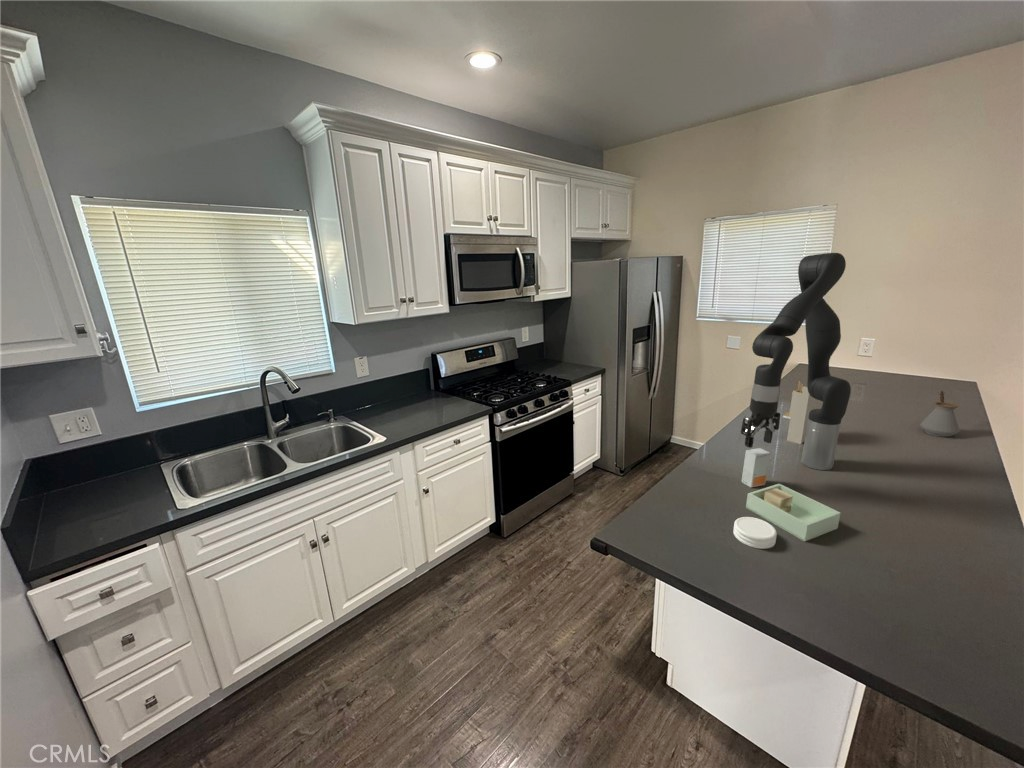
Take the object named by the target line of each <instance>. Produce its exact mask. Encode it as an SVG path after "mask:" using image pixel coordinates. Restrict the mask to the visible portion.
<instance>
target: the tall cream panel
mask: <svg viewBox="0 0 1024 768" xmlns="http://www.w3.org/2000/svg"><path fill="white" fill-rule="evenodd" d="M803 385H804V384H803V383H801V381H800V380H799V381H798V386H797V389H796V390H795V389H793V391H792V393H791V401H790V407H789V411H787V412H786V413H784V414H783V415H782V418H785V419H789V423H788V431H787V438H786V441H787V442H791V443H795V444H799V445H802V444H804V441H805V435H806V429H807V423H808V417H809V412H810V411H811V410H814V409H816V402H817V399H815V398H813V397H811V396H810V394H809V392H808V388H807V386H803Z"/></svg>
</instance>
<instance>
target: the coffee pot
mask: <svg viewBox="0 0 1024 768" xmlns="http://www.w3.org/2000/svg"><path fill="white" fill-rule="evenodd" d="M937 394H938V395H940V396H939V399H940V402H934V405H935V408H934V409H933V410H932V411H931V412H930V413H929V414H928V415H927V416H926V417H925V418H924V419H923V420H922V421H921V422H920V424H919V426H920V428H921V429H922V430H923V431H925V433H927V434H929V435H931V436H936V437H942V438H951V437H952V436H955V435H958V434H959V433H960V430H961V429H960V427H959V424H958V423H959V422H958V421H957V418H956V415H955V412H954V411H955V409H957V408H958V407H959V406H958V405H956V404H954V403H949V402H945V396H944V395H945V394H946V392H945V391H943V390H941V391H938V392H937Z"/></svg>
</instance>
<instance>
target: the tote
mask: <svg viewBox="0 0 1024 768" xmlns="http://www.w3.org/2000/svg"><path fill="white" fill-rule="evenodd" d="M776 488H777V489H779V490H781V491H783V492H785V493H787V494H789V495H791V496H793V499H792V505H791V511H790V512H785V511H783V510H781V509H779V508H777V507H775V506H774V505H772V504H770V503H768V502H766V501H764V495H765V492H766V491H770V490H773V489H776ZM745 509H747V510H749V511H750V512H752V513H754V514H756V515H757V516H759V517H761V518H763V520H766V521H768V523H771V524H773V525H775V526H777V527H778V528H780V529H781V530H784V531H786V532H787V533H789V534H790V535H792V536H794V537H795V538H797V539H799V540H800V541H803V542H807V541H810V540H812V539H815V538H817V537H820V536H822V535H825V534H827V533H830V532H832V531H835V530H837V529H838V528H839V523H840V519H841V514H842V513H841V512H840V511H838V510H836V509H834V508H832V507H830V506H827V505H826V504H824V503H821V502H819V501H817V500H815V499H813V498H811V497H808V496H806V495H804V494H802V493H800V492H798V491H796V490H793V489H791V488H790V487H787V486H786V485H783V484H781V483H777V484H773V485H770V486H767V487H763V488H760V489H758V490H755V491H751V492H749V493H747V495H746V504H745Z"/></svg>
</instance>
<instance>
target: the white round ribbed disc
mask: <svg viewBox="0 0 1024 768" xmlns="http://www.w3.org/2000/svg"><path fill="white" fill-rule="evenodd" d="M733 523H734V524H733V530H732V532H733V536H734V537H735V538H736V540H738V541H739V542H740V543H742V544H744V545H746V546H749V547H751V548H754V549H761V550H762V549H763V550H765V549H766V550H767V549H771V548H773V547H774V546H775V545H776V540H777V536H778V532H777V530H776V528H775V527H774V526H773V525H772V524H770V522H767V521H765V520H764V519H761V518H758V517H757V518H756V517H752V516H742V517H738V518H737V519H735V521H734V522H733Z"/></svg>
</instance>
